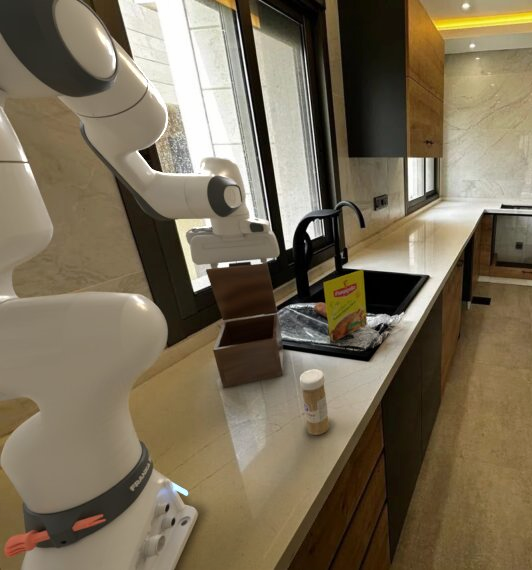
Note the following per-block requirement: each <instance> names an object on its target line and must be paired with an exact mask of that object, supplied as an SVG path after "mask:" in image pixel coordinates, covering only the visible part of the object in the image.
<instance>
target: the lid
mask: <svg viewBox="0 0 532 570" xmlns="http://www.w3.org/2000/svg"><path fill="white" fill-rule="evenodd" d="M269 270H270V269H269V266H268V262H267V263H264V264H263V263H254V264H252V262H251V261H238V262H228V266H224V267H218V268H206V269H205V272H206V275H207V278H208V281H209V283H210V287H211V290H212V292H213V295H214V298H215V301H216V304H217V307H218V310H219V313H220V316H221V319H222V321H228V320H234V319H241V318H248V317H255V316H261V315H268V314H275V313H278V308H277V303H276V298H275V293H274V288H273V285H272V279H271V274H270V271H269Z"/></svg>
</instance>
